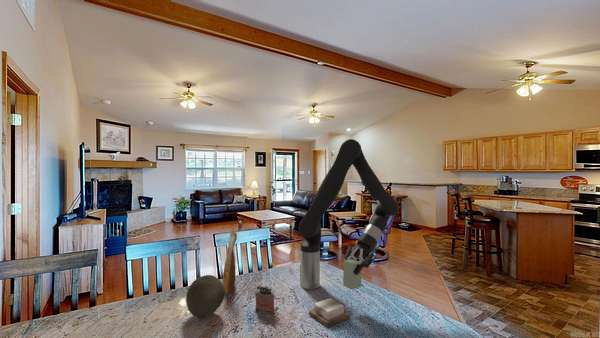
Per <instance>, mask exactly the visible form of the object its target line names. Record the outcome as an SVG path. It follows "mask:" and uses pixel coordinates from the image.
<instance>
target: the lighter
mask: <svg viewBox="0 0 600 338" xmlns="http://www.w3.org/2000/svg"><path fill="white" fill-rule="evenodd" d="M254 295H255V310H254V311H255V312H256V313H259V314H264V315H274V314H275V293H274V292H272V287H269V286H268V285H265V286H263V285H256V291H255V293H254Z"/></svg>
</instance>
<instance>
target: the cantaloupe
mask: <svg viewBox="0 0 600 338" xmlns="http://www.w3.org/2000/svg"><path fill="white" fill-rule="evenodd" d="M225 294H226V293H225V289H224V286H223V281H222V280H220V279H219V278H217V277H216V276H215V275H212V274H207V275H202V276H199V277H197V278H196V279H194V281H192V282H191V284H190V285H189V287H188V288H187V291H186V297H185V300H186V307H187V310H188V311H189V313H190V314H192V316H194V317H196V318H201V319H202V318H206V317H209V316H212V314H214V313H216V311H217V310H218V309H219V308H220V306H221V305H222V303H223V301H224V299H225V296H226V295H225Z"/></svg>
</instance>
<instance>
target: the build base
mask: <svg viewBox="0 0 600 338" xmlns="http://www.w3.org/2000/svg"><path fill="white" fill-rule="evenodd" d="M313 307H314V308H313V309H310V310H308V316H310V317H311V318H313V319H314V320H316V321H317V322H319V323H320V324H321V325H323V326H325V327H326V328H330V327H332V326H334V325H336V324H339V323H341V322H344V321H345V320H346V321H347V320H348V319H350V313H348V312H347V311H345V306H344V305H343V304H341V303H340V302H338V301H336V300H334V299H332V298H331V297H329V298H327V299H323V300H320V301H318V302H317V301H316V302H315V303H314V305H313Z"/></svg>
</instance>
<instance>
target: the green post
mask: <svg viewBox="0 0 600 338" xmlns="http://www.w3.org/2000/svg"><path fill="white" fill-rule="evenodd" d="M342 263H343V265H342V266H343V268H342V269H343V275H342V277H343V278H342V279H343V280H342V282H343V283H342V285H343V286H344V287H346V288H348V289H349V290H352V291H354V290H356V289H359V288H361V287H362V270H361V271H360V273H359V274H358V275H355V274H354V273H353V271H354V270H355V268H356V266H357V265H359V260H358V259H357V260H354V259H352V258H351V259H350V260H347V259H346V260H343V262H342Z"/></svg>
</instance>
